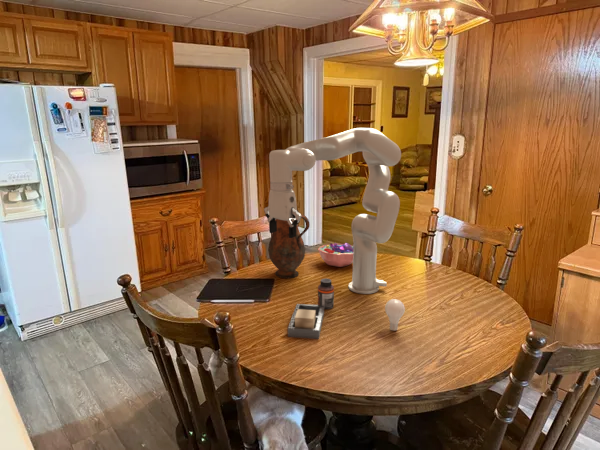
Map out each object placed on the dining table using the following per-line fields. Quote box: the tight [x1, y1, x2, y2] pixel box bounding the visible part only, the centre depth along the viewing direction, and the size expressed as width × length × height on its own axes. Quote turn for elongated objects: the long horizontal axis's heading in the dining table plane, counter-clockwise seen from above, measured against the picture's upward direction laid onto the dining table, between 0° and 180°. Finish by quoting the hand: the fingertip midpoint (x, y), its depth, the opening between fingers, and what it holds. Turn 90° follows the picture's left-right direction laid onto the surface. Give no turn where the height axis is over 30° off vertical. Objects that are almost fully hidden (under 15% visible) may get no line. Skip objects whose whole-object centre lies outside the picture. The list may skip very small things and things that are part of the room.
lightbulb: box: [384, 298, 406, 332], centre depth 135 cm, size 6×6×11 cm
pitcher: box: [267, 209, 310, 279], centre depth 181 cm, size 17×21×30 cm
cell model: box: [317, 242, 353, 268], centre depth 196 cm, size 17×20×11 cm
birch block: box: [295, 309, 316, 329], centre depth 133 cm, size 6×6×6 cm
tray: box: [287, 303, 325, 340], centre depth 138 cm, size 10×18×4 cm, turn 171°
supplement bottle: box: [317, 277, 335, 310], centre depth 151 cm, size 6×6×11 cm
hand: (282, 234), depth 143 cm, fingers open, 9 cm apart
